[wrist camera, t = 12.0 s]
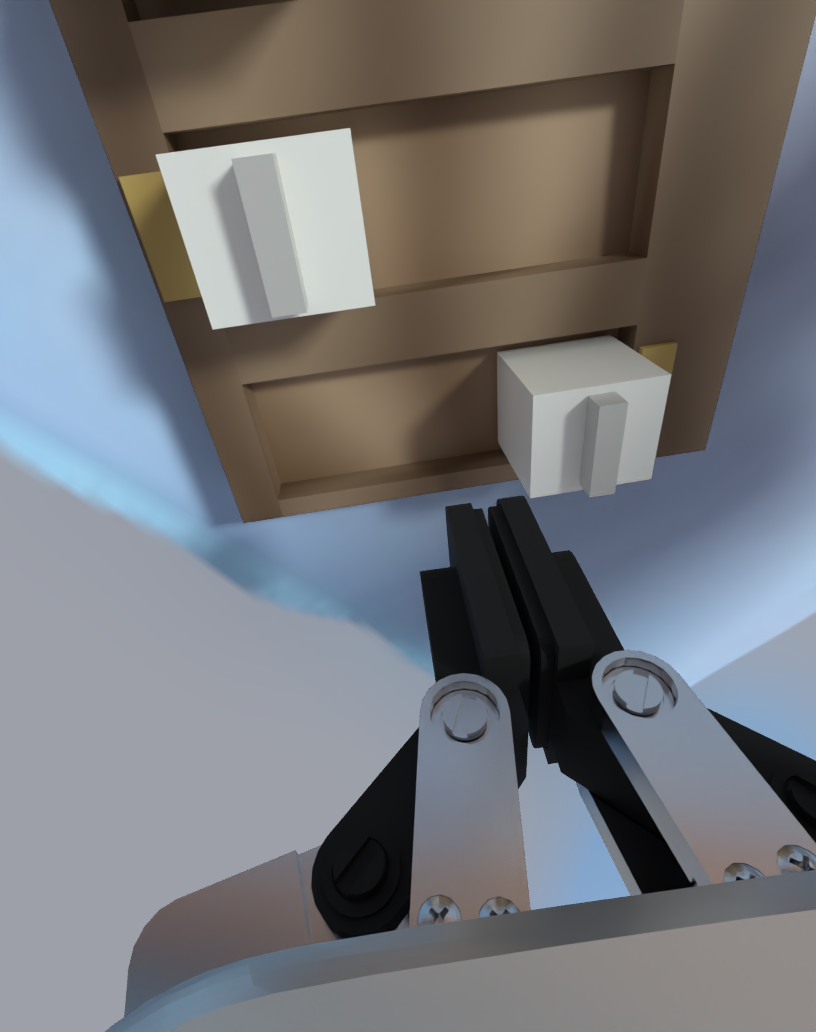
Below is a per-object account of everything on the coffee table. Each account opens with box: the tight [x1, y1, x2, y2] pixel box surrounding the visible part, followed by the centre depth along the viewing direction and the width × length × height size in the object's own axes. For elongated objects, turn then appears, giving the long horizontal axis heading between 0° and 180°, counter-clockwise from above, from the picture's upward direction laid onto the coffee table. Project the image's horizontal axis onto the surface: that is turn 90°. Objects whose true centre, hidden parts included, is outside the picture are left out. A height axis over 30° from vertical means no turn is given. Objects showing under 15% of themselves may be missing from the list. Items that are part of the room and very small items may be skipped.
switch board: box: [49, 0, 816, 523], centre depth 15 cm, size 18×19×3 cm
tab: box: [497, 335, 671, 498], centre depth 17 cm, size 4×4×5 cm
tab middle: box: [156, 128, 375, 329], centre depth 13 cm, size 4×4×5 cm
